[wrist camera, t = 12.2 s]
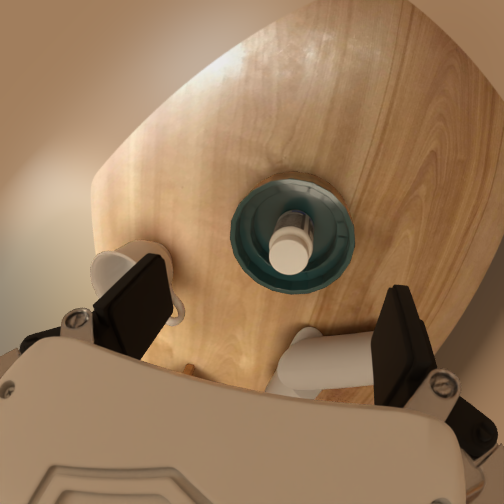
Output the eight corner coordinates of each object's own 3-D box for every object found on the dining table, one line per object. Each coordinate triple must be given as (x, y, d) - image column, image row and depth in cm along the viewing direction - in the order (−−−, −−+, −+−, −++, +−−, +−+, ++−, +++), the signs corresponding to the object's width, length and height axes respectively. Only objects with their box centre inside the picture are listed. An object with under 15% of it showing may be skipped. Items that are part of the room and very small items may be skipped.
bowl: (246, 162, 34) (235, 169, 29) (361, 183, 31) (368, 194, 27) (237, 262, 40) (226, 281, 36) (336, 282, 38) (336, 303, 34)
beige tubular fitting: (295, 295, 39) (257, 374, 49) (304, 353, 30) (257, 424, 40) (394, 313, 41) (341, 383, 51) (417, 362, 32) (350, 426, 42)
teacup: (189, 310, 47) (163, 351, 38) (120, 262, 46) (85, 293, 37) (219, 262, 41) (192, 302, 32) (138, 207, 40) (96, 234, 31)
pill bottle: (269, 229, 36) (255, 259, 29) (292, 201, 34) (283, 226, 27) (298, 250, 37) (292, 286, 29) (322, 225, 34) (321, 256, 27)
